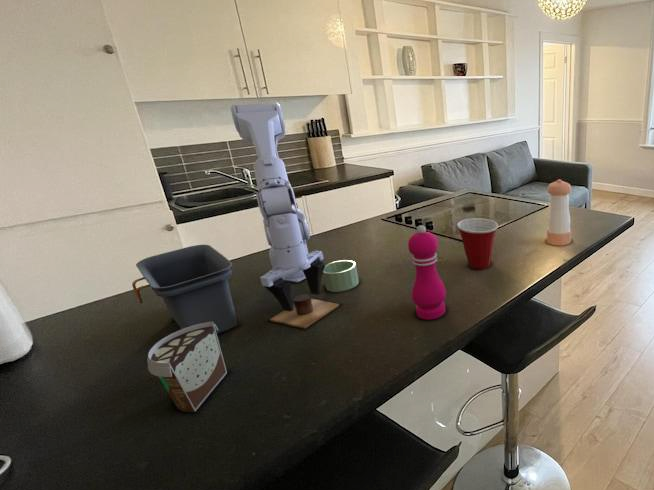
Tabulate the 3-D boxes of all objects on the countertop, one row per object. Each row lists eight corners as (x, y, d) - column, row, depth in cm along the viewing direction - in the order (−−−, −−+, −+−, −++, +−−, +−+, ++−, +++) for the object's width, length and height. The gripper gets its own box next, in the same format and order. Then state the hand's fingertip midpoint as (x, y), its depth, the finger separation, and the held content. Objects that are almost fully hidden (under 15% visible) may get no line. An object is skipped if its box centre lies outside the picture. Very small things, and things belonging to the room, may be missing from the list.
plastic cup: (495, 274, 105) (493, 230, 101) (455, 272, 107) (451, 229, 103) (503, 257, 115) (502, 217, 110) (466, 256, 117) (463, 216, 113)
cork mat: (270, 320, 88) (265, 304, 87) (306, 299, 97) (302, 284, 95) (305, 328, 85) (300, 312, 83) (339, 305, 93) (335, 290, 92)
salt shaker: (574, 239, 126) (576, 178, 119) (564, 247, 120) (565, 183, 113) (553, 235, 130) (553, 176, 123) (542, 243, 124) (542, 181, 117)
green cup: (318, 289, 102) (314, 271, 100) (341, 275, 108) (337, 258, 107) (344, 293, 99) (340, 275, 97) (365, 279, 106) (362, 262, 104)
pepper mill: (453, 306, 91) (445, 221, 83) (438, 323, 85) (428, 232, 77) (424, 302, 93) (414, 218, 86) (408, 318, 87) (395, 230, 79)
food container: (196, 370, 73) (177, 322, 70) (231, 367, 74) (214, 319, 70) (146, 422, 62) (121, 369, 58) (189, 418, 62) (166, 365, 59)
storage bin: (256, 325, 87) (237, 264, 82) (167, 361, 76) (138, 294, 71) (224, 296, 100) (206, 242, 95) (145, 323, 90) (119, 264, 84)
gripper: (272, 259, 77) (289, 321, 82) (328, 234, 89) (340, 289, 94) (246, 255, 80) (264, 315, 85) (304, 231, 92) (316, 285, 97)
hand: (302, 301), depth 90 cm, fingers open, 7 cm apart
